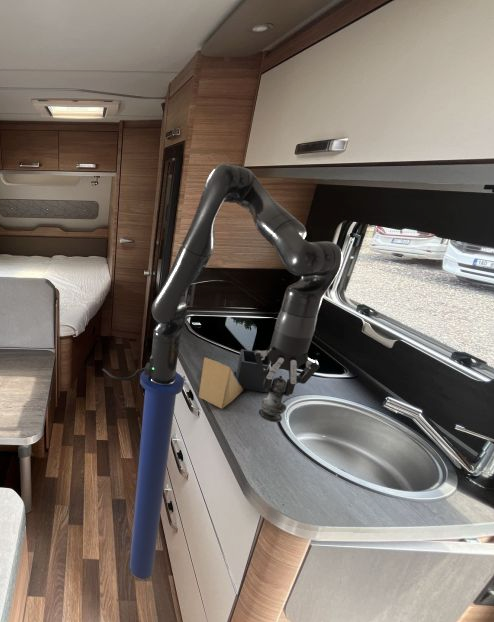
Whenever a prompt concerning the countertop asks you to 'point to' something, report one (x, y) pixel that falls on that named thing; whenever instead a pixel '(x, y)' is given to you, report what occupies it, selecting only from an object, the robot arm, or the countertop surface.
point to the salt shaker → (274, 401)
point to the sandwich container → (218, 384)
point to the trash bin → (250, 371)
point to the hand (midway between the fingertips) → (276, 391)
